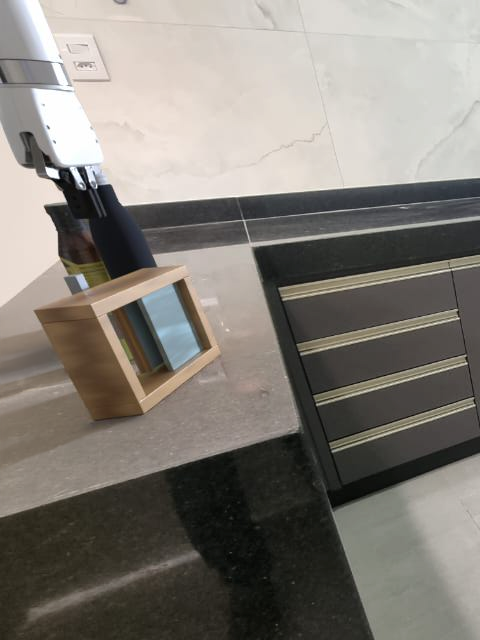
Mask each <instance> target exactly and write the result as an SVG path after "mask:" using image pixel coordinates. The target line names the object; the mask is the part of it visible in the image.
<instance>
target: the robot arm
mask: <svg viewBox="0 0 480 640" xmlns="http://www.w3.org/2000/svg"><path fill="white" fill-rule="evenodd" d="M59 51H60V50H59V49H58V46H57V43H56V41H55V39H54V37H53V34H52V31H51V29H50V26H49V24H48V22H47V19H46V16H45V14H44V11H43V9H42V7H41V3H40V2H39V0H0V124H1V127H2V130H3V132H4V133H3V134H4V136H5V138H6V140H7V143H8V145H9V147H10V149H11V152H12V154H13V157H14V159H15V160H16V162H17V164H18V165H20V166H21V167H22V168H25V169H27V170H35V173H36V176H37V177H38V178H40V179H45V180H49V181H51V182H53V183H54V185H55V187H56V188H57V190H58V191H60V192H62V194H63V197H64V199H65V202H67V204H68V206H69V208H70V210H71V213H72V215H73V217H74V218H75V219H84V220H89V219H94V218H101V217H106V212H105V210H104V207H103V205H102V203H101V200H100V198H99V195H98V193H97V191H96V188H97V183H96V180H95V176H96V175H98V174H100V173H102V172H103V171H102V168H101V166H100V165H101V164H102V163H103V162H104V160H105V159H104V154H103V151H102V148H101V145H100V143H99V140H98V137H97V136H96V132H95V131H94V129H93V127H92V124H91V123H90V120H89V118H88V116H87V114H86V113H85V111H84V108H83V107H82V105H81V103H80V102H79V100H78V98H77V96H76V94H75V93H74V92H75V89H74V86H73V84H72V80H71V78H70V75H69V74H68V70H67V68H66V65H65V64H64V61H63V58H62V56H61V54H60V52H59Z"/></svg>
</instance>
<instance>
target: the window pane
mask: <svg viewBox="0 0 480 640" xmlns="http://www.w3.org/2000/svg"><path fill="white" fill-rule="evenodd" d="M63 279H64V282H65V284H66V286H67V288H68V291H70V294H71V296H72V295H74V294H77V293H80V292H82V291H85V290H87V289H90V288H89V286H88V284H87V282H86V280H85V278H84V276H83V274H73V275H66V276H64V277H63ZM111 313H112V314H107V316H108V318H109V320H110V322H111V324H112V326H113V329H114V331H115V333H116V335H117V337H118V339H124V340H125V342H126V344H127V346H128V348H129V350H130V353H131V355H132V357H133V361H134V363H135V365H136V367H137V369H138V371H139V374H146V373H150V372H152V371H153V369H155V368H156V367H158V366H159V365H161V364H162V363H164V360H163V358H162V355H161V353H160V351H159V349H158V347H157V344H156V342H155V340H154V338H153V336H152V333H151V331H150V329H149V327H148V325H147V322H146V320H145V318H144V316H143V314H142V311H141V309H140V307H139V305H138V303H137V300H135V301H133V302H131V303H128V304H126V305H124V306H122V307H120V308H117V309H115V310H113V311H111Z"/></svg>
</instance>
